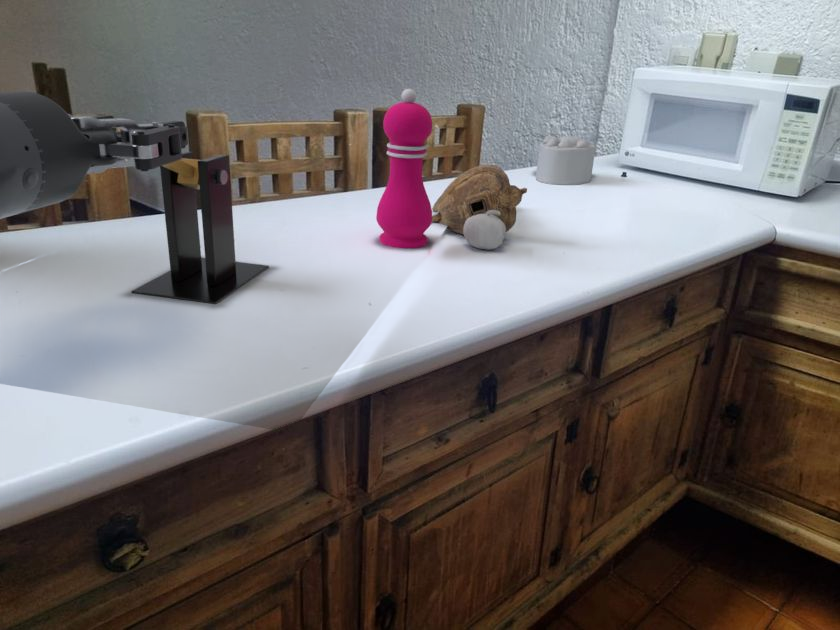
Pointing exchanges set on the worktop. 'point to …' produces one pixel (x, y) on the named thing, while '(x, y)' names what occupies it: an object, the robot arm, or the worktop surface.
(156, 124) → the robot arm
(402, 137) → the pepper mill
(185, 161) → the lever
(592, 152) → the lumpy-topped squat cylinder
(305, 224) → the worktop surface
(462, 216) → the brown wooden birdhouse
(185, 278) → the bracket
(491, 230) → the garlic
